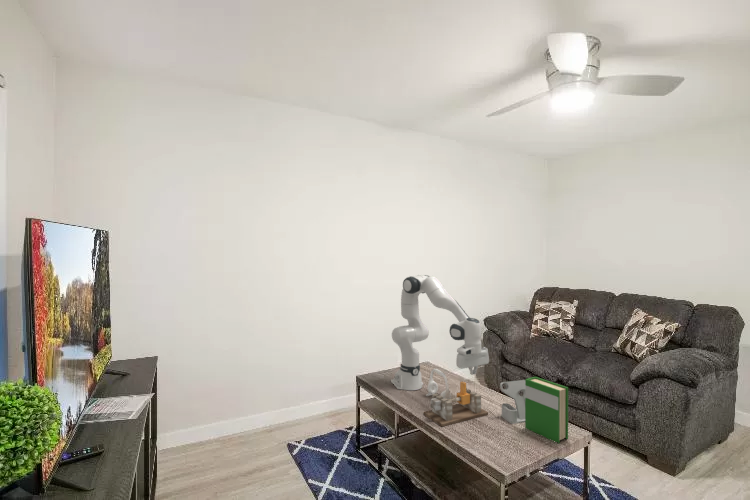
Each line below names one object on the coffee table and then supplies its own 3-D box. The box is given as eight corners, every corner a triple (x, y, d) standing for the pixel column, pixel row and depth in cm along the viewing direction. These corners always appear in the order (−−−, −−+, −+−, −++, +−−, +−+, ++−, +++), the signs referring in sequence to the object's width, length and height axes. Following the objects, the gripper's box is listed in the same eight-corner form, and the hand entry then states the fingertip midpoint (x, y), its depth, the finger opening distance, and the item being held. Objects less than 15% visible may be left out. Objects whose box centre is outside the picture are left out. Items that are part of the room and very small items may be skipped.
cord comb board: (423, 414, 206) (423, 394, 206) (467, 404, 220) (467, 385, 220) (442, 427, 192) (442, 405, 192) (488, 414, 206) (488, 395, 206)
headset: (453, 407, 216) (453, 375, 216) (441, 408, 214) (441, 376, 214) (435, 394, 235) (435, 364, 235) (425, 395, 233) (425, 365, 232)
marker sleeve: (456, 401, 209) (456, 381, 209) (463, 400, 212) (463, 380, 212) (462, 405, 205) (462, 384, 205) (469, 403, 207) (469, 383, 207)
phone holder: (510, 424, 195) (510, 388, 195) (499, 415, 205) (499, 381, 205) (540, 420, 200) (540, 385, 200) (527, 411, 210) (527, 378, 210)
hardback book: (568, 439, 180) (568, 387, 180) (558, 443, 176) (558, 390, 176) (535, 424, 195) (535, 376, 195) (525, 427, 191) (525, 379, 191)
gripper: (483, 345, 219) (483, 369, 219) (454, 349, 209) (454, 375, 209) (491, 347, 213) (491, 372, 213) (462, 352, 204) (462, 378, 204)
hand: (473, 374), depth 211 cm, fingers closed
